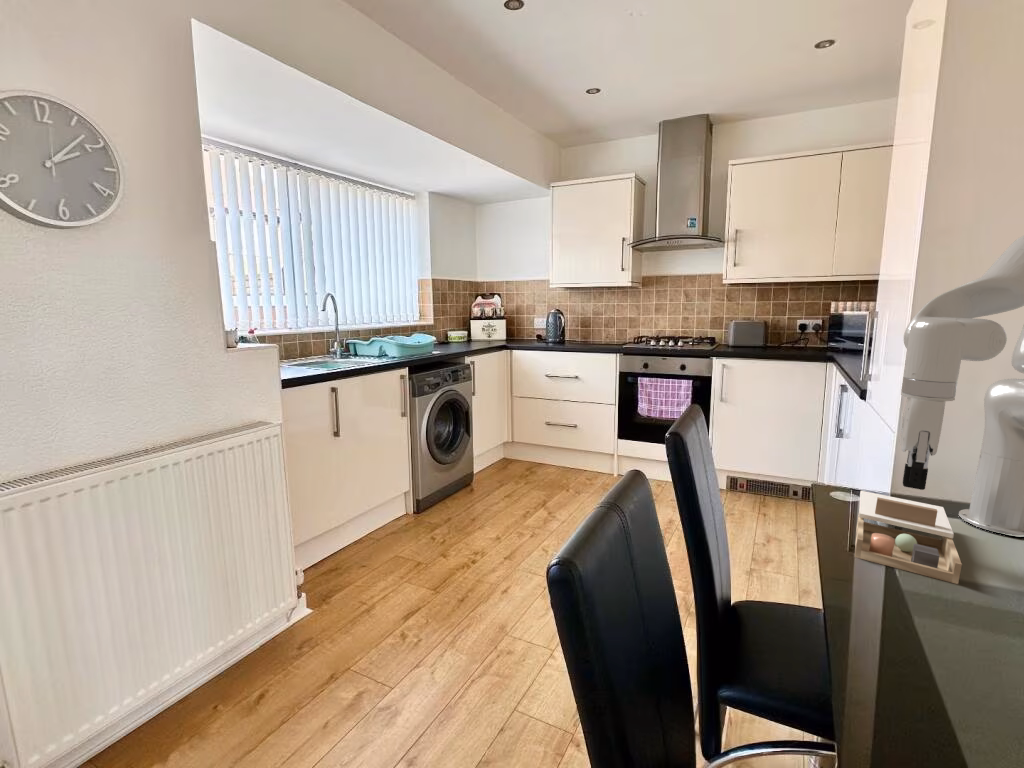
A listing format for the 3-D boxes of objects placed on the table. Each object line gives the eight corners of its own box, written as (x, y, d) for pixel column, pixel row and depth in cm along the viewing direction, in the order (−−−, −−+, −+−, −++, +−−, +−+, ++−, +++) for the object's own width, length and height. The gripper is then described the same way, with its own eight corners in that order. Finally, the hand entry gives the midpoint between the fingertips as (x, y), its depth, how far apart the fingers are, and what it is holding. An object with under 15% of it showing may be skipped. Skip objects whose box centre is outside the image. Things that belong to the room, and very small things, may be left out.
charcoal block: (911, 560, 90) (913, 543, 89) (934, 566, 88) (937, 548, 87) (912, 567, 87) (915, 550, 87) (936, 573, 85) (939, 556, 85)
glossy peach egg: (874, 547, 94) (876, 531, 93) (895, 555, 91) (898, 539, 91) (865, 551, 92) (868, 535, 92) (886, 560, 89) (889, 543, 89)
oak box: (856, 529, 103) (859, 510, 103) (945, 550, 95) (949, 530, 95) (854, 559, 90) (857, 538, 90) (957, 587, 82) (961, 564, 82)
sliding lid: (860, 494, 112) (862, 477, 111) (942, 510, 104) (945, 493, 103) (858, 517, 98) (861, 498, 98) (953, 538, 91) (956, 518, 90)
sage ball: (898, 545, 95) (901, 529, 95) (918, 552, 93) (921, 536, 92) (890, 549, 94) (893, 532, 93) (911, 556, 91) (914, 540, 90)
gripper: (900, 381, 99) (887, 471, 102) (903, 393, 87) (889, 494, 90) (950, 385, 94) (935, 479, 98) (961, 398, 82) (944, 505, 85)
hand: (913, 486), depth 94 cm, fingers closed
